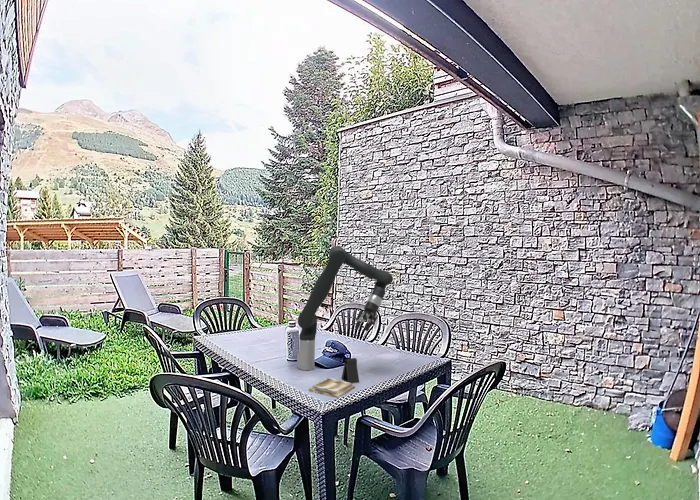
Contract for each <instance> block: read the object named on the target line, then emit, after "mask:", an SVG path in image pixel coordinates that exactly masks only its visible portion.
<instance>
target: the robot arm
mask: <svg viewBox="0 0 700 500" xmlns="http://www.w3.org/2000/svg"><path fill="white" fill-rule="evenodd" d="M328 255H329V256H328V260H327V263H326V266H325V268H324V270H323V271H322V273H321V274H320V275H319V277H318V278H317V279H316V281H315V283H314V285H313V288H312V290H311V292H310V295H309V297H308V299H307V302H306V303H305V305H304V307H303V309H302V310H301V312H300V313H299V316H298V318H297V324H298V327H300V328H301V331H300V333H299V335H298V336H299V337H298V338H299V340H298V351H297V358H296V359H297V360H296V363H297V364H296V365H297V366H296V368H297V369H298V370H302V371H312V370H314V369H315V360H316V357H315V356H316V335H317V331H318V330H317V329H318V318H317V317H318V316H317V314H316V313H317V311H318V309H319V307H320V306H321V305H322V304H323V302H325V300H326V298H327V297H328V296H329V293H330V291H331V289H332V287H333V284H334V283H335V279H336V276H337V275H338V272H339V270H340V269H341V268H342V266H343V264H344V265H347V266H348V267H350V268H352V269H353V270H355V271H356V272H357V273H359V274H361V275H363V276H364V277H366V278H368V279H371V280H376V281H375V284H374V288H373V290H372V292H371V294H370V296H368V299H367V301H366V303H365V304H364V308H363V312H362V311H361V310H360V311H359V312H358V314H357V316H356V318H355V321H356V323H355V326H354V329H356V330H359V329H360V327H361V325H362V323H363V322H366V321H367V323H366V325H365V327H364V331H365V332H368V331H369V330H370V328H371V326H374V325H375V324H376V321H377V320H378V316H379V314H377V313H378V311H379V309H380V306H381V304H382V303H383V302H382V301H383V299H384V297H385V294H386V288H387V286H388V285H390V284H392V283H393V280H394V278H393V275H392V274H391V273H390V272H388V271H385V270H383V269H380V268H376V267H375V266H373V265H371V264H369V263H367V262H365V261H363V260H361V259H359V258H357V257H355V256H354V255H352V254H351V253H349V251H347V250H345V248H343V247H342V246H338V245H334V246H333V247H331V248H330V250H329V252H328Z"/></svg>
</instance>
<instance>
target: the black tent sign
mask: <svg viewBox="0 0 700 500" xmlns="http://www.w3.org/2000/svg"><path fill="white" fill-rule="evenodd" d="M357 363H358V359H357V358H356V357H351V358H346V359H344V364H343V365H344V366H343V369H342V375H341V379H340V380H341V381H344V382H349V383H352V384H357V383H360V379H359V378H360V377H359V372H358V371H359V370H358V364H357Z"/></svg>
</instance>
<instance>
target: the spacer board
mask: <svg viewBox="0 0 700 500" xmlns="http://www.w3.org/2000/svg"><path fill="white" fill-rule="evenodd" d="M355 387H356V385H353V383H349V382H346V381H344V380H338V379H335V378H330V377H327V378H325V379H323V380H321V381H319V382H318V383H315V384H313V385H312V386H311V387H310V388H308V391H309V392H311V393H315V394H316V393H317V394H318V395H319V394H320V395H325V396H329V397H333V398H335V399H336V398H337V399H338V398H340V397H342V396H344V395H346V394H347V393H349V392H350V391H352V390H353V389H355Z"/></svg>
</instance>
